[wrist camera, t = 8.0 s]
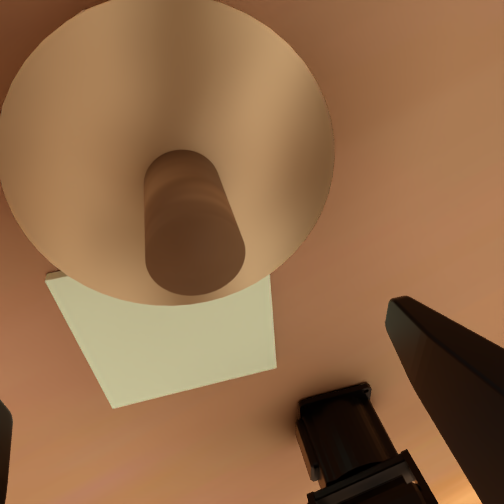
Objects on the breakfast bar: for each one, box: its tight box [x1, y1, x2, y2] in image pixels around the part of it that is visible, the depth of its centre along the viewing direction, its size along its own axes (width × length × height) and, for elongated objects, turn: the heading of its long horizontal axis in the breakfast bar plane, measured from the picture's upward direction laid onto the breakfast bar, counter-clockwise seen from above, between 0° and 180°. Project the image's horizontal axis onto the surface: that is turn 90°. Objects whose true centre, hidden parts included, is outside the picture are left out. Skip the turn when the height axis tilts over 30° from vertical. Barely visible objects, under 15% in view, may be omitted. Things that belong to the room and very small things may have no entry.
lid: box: [0, 0, 335, 306], centre depth 13 cm, size 12×12×5 cm
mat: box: [45, 271, 277, 409], centre depth 25 cm, size 12×12×1 cm
